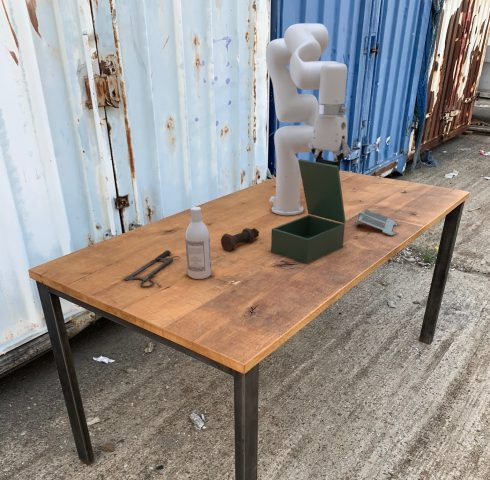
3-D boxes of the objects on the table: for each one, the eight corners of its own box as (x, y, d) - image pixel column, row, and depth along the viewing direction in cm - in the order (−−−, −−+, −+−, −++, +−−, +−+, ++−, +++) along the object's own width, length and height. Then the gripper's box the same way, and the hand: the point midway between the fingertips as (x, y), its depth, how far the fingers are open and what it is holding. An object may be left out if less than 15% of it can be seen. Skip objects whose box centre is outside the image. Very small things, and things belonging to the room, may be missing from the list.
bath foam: (199, 267, 152) (195, 202, 142) (216, 273, 148) (213, 207, 138) (183, 275, 148) (177, 208, 138) (199, 281, 144) (195, 213, 134)
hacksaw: (166, 253, 163) (166, 248, 162) (194, 258, 159) (193, 253, 158) (119, 282, 144) (118, 277, 144) (148, 288, 140) (148, 283, 140)
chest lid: (336, 167, 148) (347, 158, 150) (298, 160, 157) (308, 151, 159) (344, 223, 161) (353, 214, 163) (308, 214, 170) (317, 205, 172)
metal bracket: (357, 216, 174) (362, 204, 186) (350, 231, 177) (356, 218, 190) (396, 231, 172) (399, 218, 184) (389, 246, 175) (393, 232, 188)
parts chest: (306, 264, 154) (308, 239, 150) (271, 251, 163) (271, 228, 159) (342, 247, 166) (344, 224, 162) (307, 236, 174) (308, 214, 171)
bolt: (257, 243, 174) (228, 254, 164) (248, 233, 175) (218, 244, 166) (264, 231, 170) (234, 241, 160) (255, 221, 171) (224, 231, 162)
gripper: (363, 111, 145) (357, 175, 154) (315, 106, 156) (312, 166, 165) (348, 114, 141) (342, 179, 150) (300, 109, 151) (298, 170, 160)
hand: (327, 172), depth 157 cm, fingers closed on chest lid, 5 cm apart
